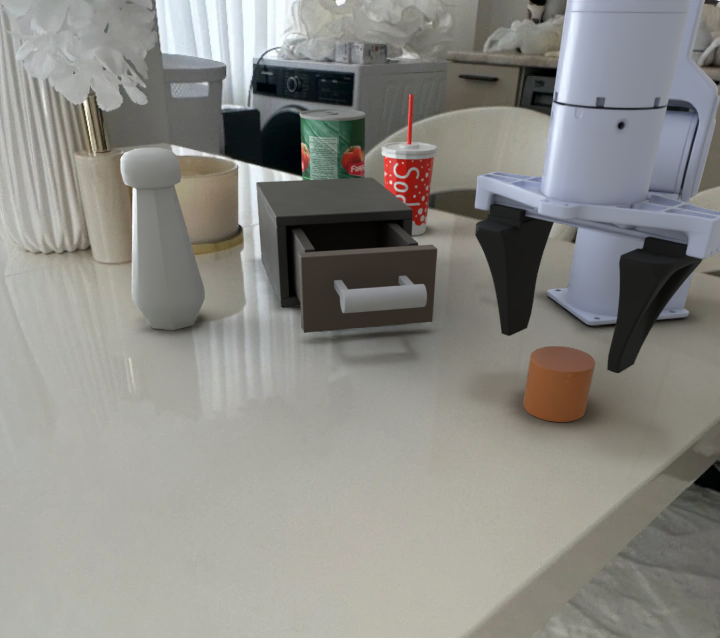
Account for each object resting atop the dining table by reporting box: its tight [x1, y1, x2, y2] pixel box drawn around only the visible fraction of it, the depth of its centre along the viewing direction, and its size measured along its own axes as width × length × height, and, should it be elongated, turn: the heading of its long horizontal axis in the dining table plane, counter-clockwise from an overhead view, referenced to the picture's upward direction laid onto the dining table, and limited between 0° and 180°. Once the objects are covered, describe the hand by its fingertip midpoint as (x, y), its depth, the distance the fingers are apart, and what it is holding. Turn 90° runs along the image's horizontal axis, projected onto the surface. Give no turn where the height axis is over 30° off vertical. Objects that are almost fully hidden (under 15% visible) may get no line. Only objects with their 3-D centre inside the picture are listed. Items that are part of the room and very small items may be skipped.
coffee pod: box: [522, 345, 596, 423], centre depth 46 cm, size 4×4×4 cm
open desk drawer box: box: [255, 176, 413, 308], centre depth 66 cm, size 14×12×8 cm
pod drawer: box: [286, 220, 438, 334], centre depth 57 cm, size 17×10×6 cm, turn 14°
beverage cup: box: [380, 93, 438, 237], centre depth 79 cm, size 6×6×14 cm
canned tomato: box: [299, 108, 367, 180], centre depth 88 cm, size 8×8×11 cm
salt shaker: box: [120, 147, 206, 331], centre depth 55 cm, size 6×6×13 cm
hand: (564, 348), depth 44 cm, fingers open, 7 cm apart
